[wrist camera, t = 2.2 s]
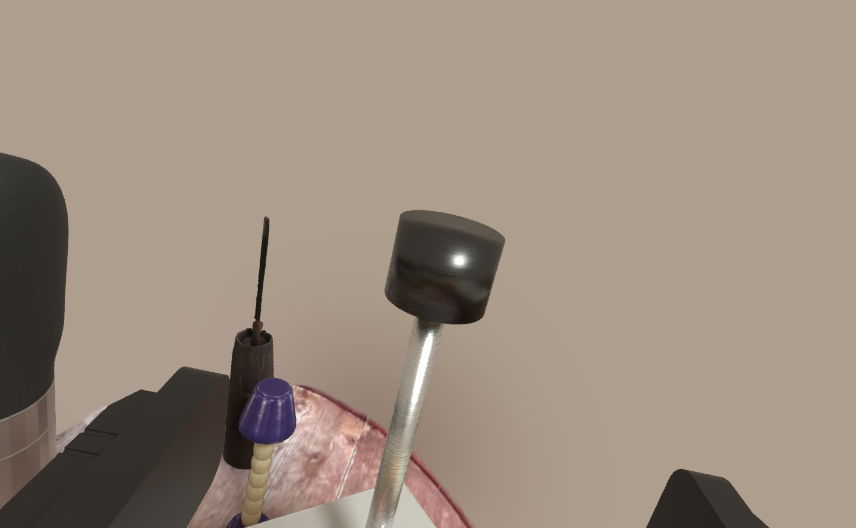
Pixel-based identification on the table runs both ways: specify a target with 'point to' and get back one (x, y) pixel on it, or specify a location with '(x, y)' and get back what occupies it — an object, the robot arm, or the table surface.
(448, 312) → the plunger
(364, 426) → the table surface
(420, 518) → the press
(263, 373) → the butter churn
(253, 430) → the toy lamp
